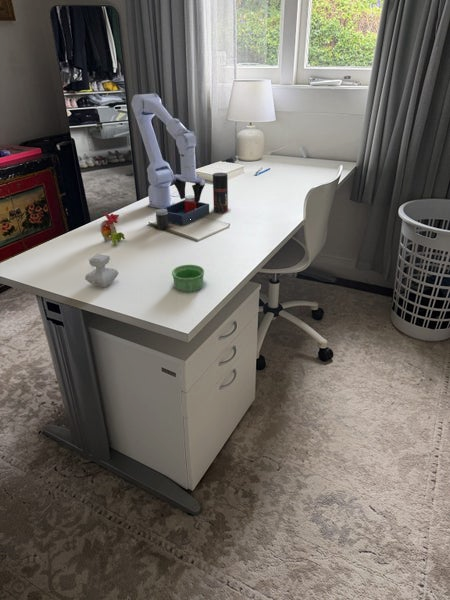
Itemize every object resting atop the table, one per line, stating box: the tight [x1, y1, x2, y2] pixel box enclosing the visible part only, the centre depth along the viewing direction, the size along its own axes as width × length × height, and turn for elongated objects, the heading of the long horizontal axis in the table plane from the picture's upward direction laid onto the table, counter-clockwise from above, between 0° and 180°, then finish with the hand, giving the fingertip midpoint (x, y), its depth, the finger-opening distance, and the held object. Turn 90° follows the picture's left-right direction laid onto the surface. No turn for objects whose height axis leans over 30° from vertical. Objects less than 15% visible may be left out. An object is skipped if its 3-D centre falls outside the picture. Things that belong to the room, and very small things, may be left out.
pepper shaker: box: [155, 208, 170, 230], centre depth 159 cm, size 5×5×7 cm
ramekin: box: [171, 264, 205, 292], centre depth 118 cm, size 9×9×4 cm
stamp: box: [84, 253, 119, 288], centre depth 119 cm, size 9×7×8 cm
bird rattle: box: [99, 212, 126, 246], centre depth 146 cm, size 6×11×9 cm
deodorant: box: [212, 172, 229, 214], centre depth 173 cm, size 6×6×15 cm
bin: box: [162, 199, 210, 226], centre depth 170 cm, size 12×17×4 cm
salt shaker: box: [184, 194, 196, 213], centre depth 172 cm, size 5×5×7 cm
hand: (190, 200), depth 171 cm, fingers open, 7 cm apart
